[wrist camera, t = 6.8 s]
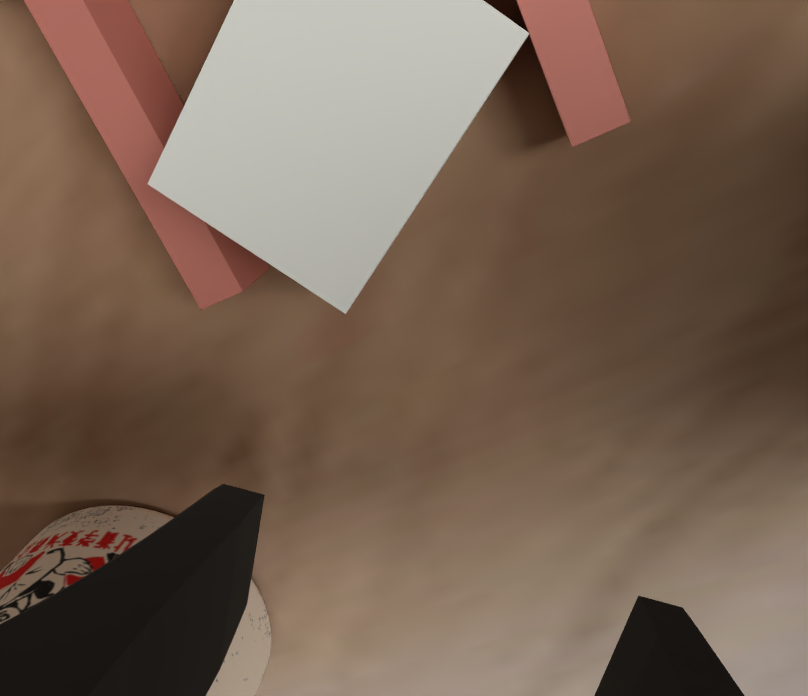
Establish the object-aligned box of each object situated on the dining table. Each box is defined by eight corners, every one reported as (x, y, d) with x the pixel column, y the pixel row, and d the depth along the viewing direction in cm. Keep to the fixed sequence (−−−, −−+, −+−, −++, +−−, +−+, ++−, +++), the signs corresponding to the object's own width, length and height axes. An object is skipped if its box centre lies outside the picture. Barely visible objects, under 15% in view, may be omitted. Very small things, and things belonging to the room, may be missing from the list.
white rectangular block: (527, 36, 16) (529, 33, 12) (385, 254, 19) (345, 313, 14) (356, -87, 16) (296, -133, 12) (232, 152, 18) (147, 184, 14)
